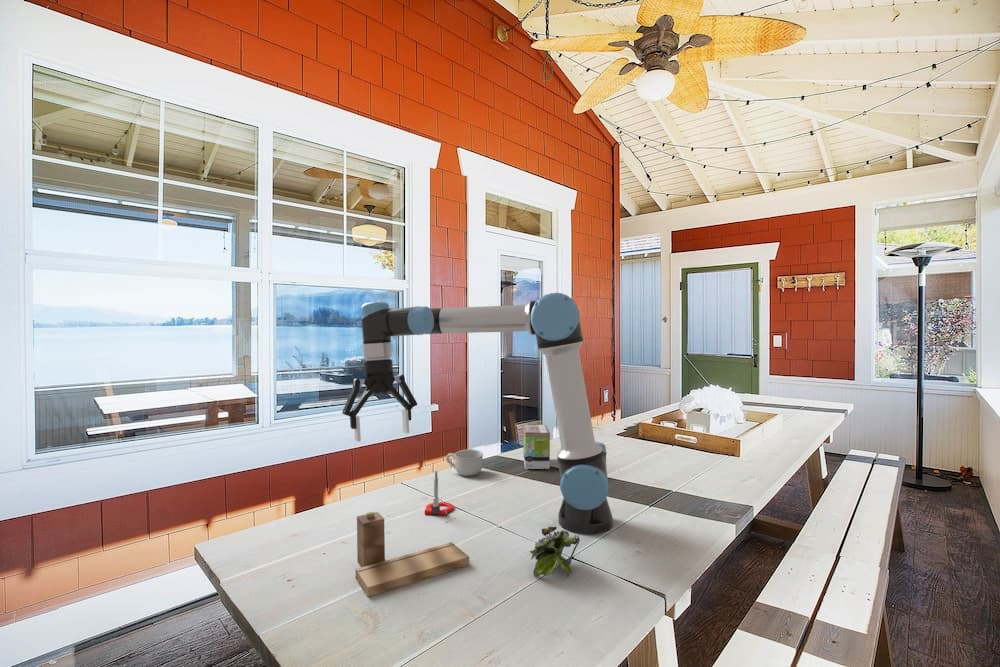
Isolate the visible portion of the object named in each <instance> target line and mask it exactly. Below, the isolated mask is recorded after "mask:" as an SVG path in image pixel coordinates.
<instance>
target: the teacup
mask: <svg viewBox="0 0 1000 667" xmlns="http://www.w3.org/2000/svg"><path fill="white" fill-rule="evenodd" d="M450 457H453V460H454V463H453V462H452V461H451V460H450ZM483 457H484V453H483V451H481V450H477V449H472V448H471V449H469V448H468V449H462V450H458V451H456V452H455V453H453V452H450V453H448V454H447V455H446V457H445V459H446V462H447V463H448V464H449V465H450V466H451V467H452V468H454V469H455V470H456V472H457V473H458V474H459V475H460V476H462V477H474V476H477V475H479V473H480V472H481V471H482V469H483V462H484V461H483V459H484V458H483Z"/></svg>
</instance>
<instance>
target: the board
mask: <svg viewBox="0 0 1000 667" xmlns="http://www.w3.org/2000/svg"><path fill="white" fill-rule="evenodd" d="M469 565H470V556H469V555H468V554H466V553H465V551H463V550H462V549H461V548H459V547H458V546H457V545H456V544H455V543H453V542H447V543H443V544H440V545H436V546H433V547H429V548H426V549H422V550H418V551H414V552H412V553H408V554H405V555H400V556H398V557H394V558H390V559H387V560H386V559H385V561H383V562H379V563H375V564H372V565H368V566H365V567H361V566H360V567H358V568H355V571H354V572H355V573H354V574H355V579H356V581H357V583H358V584H359V585H360V587H361V588H362V590H363V591H365V592H364V593H365V594H367V595H366V596H367V597H368V598H369V597H372V596H374V595H375V596H376V595H378V594H382V593H385V592H388V591H391V590H394V589H397V588H401V587H404V586H406V585H411V584H413V583H417V582H420V581H423V580H425V579H426V580H427V579H429V578H432V577H436V576H439V575H441V574H445V573H449V572H451V571H455V570H457V569H461V568H464V567H467V566H469Z"/></svg>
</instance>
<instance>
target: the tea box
mask: <svg viewBox="0 0 1000 667" xmlns="http://www.w3.org/2000/svg"><path fill="white" fill-rule="evenodd" d="M550 452H551V432H550V429H549V428H548V425H547V424H524V425H523V464H524V465H523V466H524V469H525V470H528V469H544V468H545V469H549V468H550V465H551V464H550V462H551V453H550ZM550 469H551V468H550ZM550 469H549V470H550Z"/></svg>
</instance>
